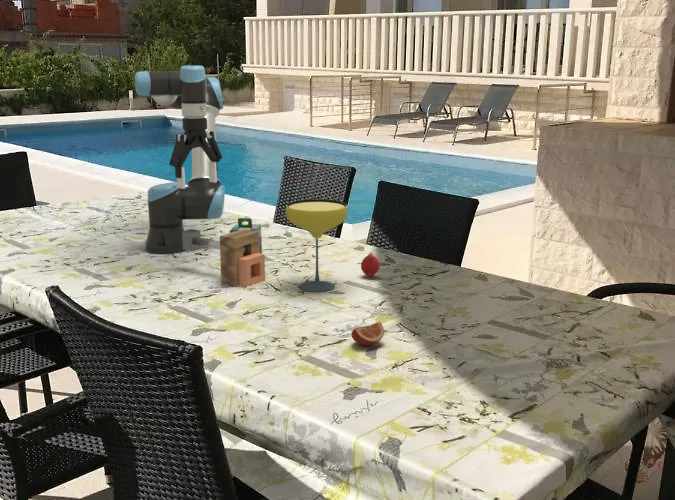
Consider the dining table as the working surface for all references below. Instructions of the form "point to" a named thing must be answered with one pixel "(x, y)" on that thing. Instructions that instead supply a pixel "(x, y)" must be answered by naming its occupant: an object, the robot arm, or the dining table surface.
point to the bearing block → (236, 253)
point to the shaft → (199, 241)
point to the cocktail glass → (316, 228)
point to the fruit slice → (368, 334)
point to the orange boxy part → (245, 269)
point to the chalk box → (249, 227)
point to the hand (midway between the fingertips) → (197, 185)
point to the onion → (370, 265)
